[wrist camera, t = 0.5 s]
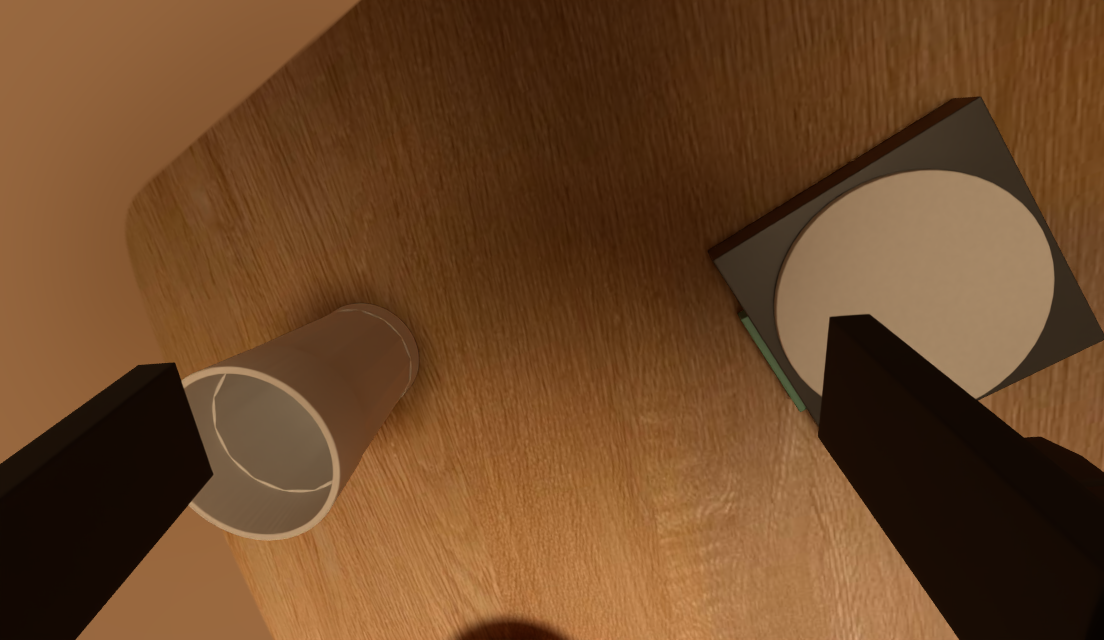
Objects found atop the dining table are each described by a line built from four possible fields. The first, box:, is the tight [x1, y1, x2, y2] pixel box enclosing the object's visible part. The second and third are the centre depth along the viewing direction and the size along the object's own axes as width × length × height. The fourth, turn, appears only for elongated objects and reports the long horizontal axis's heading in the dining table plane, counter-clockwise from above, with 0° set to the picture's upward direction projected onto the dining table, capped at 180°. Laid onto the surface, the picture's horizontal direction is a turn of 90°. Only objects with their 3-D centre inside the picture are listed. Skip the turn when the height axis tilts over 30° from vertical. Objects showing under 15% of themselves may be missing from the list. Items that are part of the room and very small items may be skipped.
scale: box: [708, 97, 1104, 427], centre depth 30 cm, size 13×13×3 cm
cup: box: [181, 303, 419, 540], centre depth 31 cm, size 8×8×12 cm
